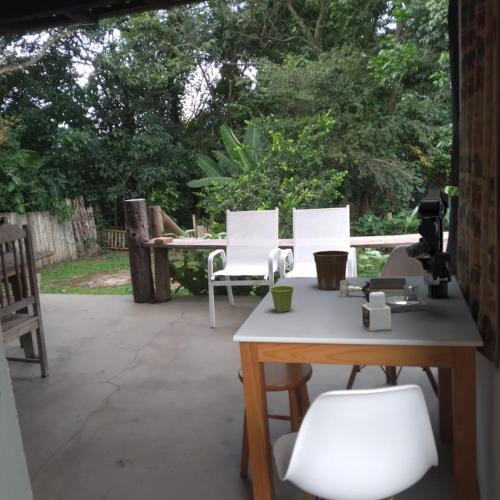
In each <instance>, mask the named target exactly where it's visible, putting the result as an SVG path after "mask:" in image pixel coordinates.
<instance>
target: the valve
mask: <svg viewBox="0 0 500 500" xmlns="http://www.w3.org/2000/svg"><path fill="white" fill-rule="evenodd" d="M369 282H370V281H365V285H364V286H361V287H360V286H356V287H355V286H354V285H350V281H349V280H348V279H345V280H342V281H340V289H339V293H340V297H341V298H348V297H350V293H354V292H355V291H356V292H363V295H364V296H365V297H366V293H367V292H368V291H369V289H370V287H369Z"/></svg>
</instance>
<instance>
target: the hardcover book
mask: <svg viewBox="0 0 500 500" xmlns="http://www.w3.org/2000/svg"><path fill="white" fill-rule="evenodd" d="M368 282H369V287H370V289H369V291H371V290H380V291H383V292H385V293H404V285H407V280H406V277H377V278H376V277H371V278H370V279H369V281H368Z"/></svg>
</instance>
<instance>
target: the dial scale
mask: <svg viewBox="0 0 500 500" xmlns="http://www.w3.org/2000/svg"><path fill="white" fill-rule="evenodd" d="M385 305H387V306H388V307H390V308H391V314H393V313H394V314H395V313H403V312H405V313H406V312H414V311H415V312H416V311H426V309H429V310H430V304H429V303H428V302H426V301H424V300H422V299H420V298H419V297H418V300H414V301H409V300H405V299H404V295H394V296H393V295H392V296H387V297H386V304H385Z"/></svg>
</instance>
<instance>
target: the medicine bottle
mask: <svg viewBox="0 0 500 500" xmlns="http://www.w3.org/2000/svg"><path fill="white" fill-rule="evenodd" d="M365 293H366V292H365ZM386 298H387V297H386V292H383V291H380V290H371V291H368V292H367V293H366V296H365V299H366V302H365V304H362V305H361V306H362V307H361V308H362V309H361V313H362V325H363V327H364V328H365V329H367V330H368V331H369V332H374V331H384V330H387V331H388V330H391V329H392V318H391V317H392V313H391V308H390V307H388V306H387V305H385V304H386Z"/></svg>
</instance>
